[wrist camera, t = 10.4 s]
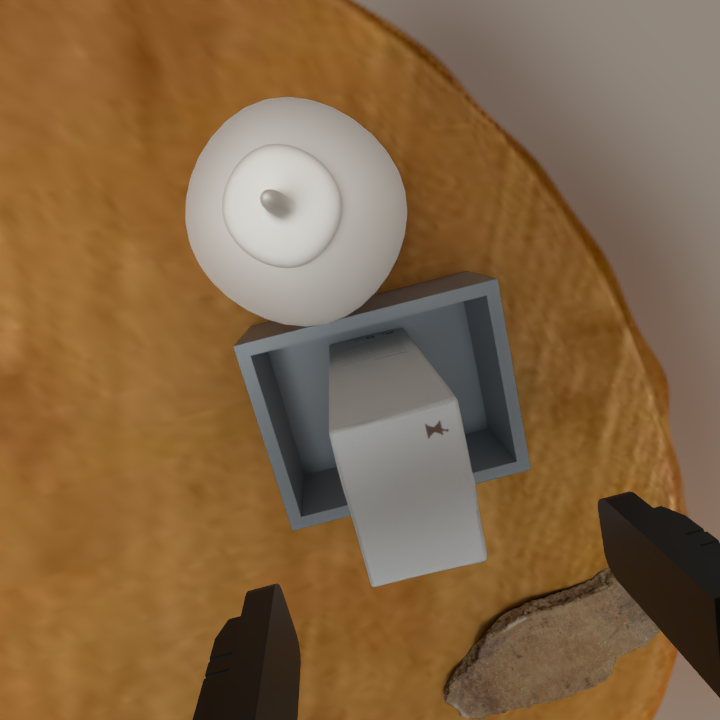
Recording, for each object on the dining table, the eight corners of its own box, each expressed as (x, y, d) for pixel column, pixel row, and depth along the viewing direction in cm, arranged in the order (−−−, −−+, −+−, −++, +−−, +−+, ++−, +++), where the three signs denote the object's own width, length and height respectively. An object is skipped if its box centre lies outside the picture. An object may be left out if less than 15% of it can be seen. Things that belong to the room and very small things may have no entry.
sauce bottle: (278, 110, 24) (152, -220, 7) (412, 199, 26) (593, 116, 8) (204, 250, 26) (-64, 277, 8) (334, 327, 27) (346, 492, 9)
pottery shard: (484, 716, 36) (667, 612, 33) (493, 752, 34) (691, 644, 31) (415, 645, 34) (602, 529, 32) (418, 678, 32) (622, 556, 29)
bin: (496, 430, 29) (530, 469, 24) (298, 481, 29) (292, 530, 24) (466, 271, 27) (497, 278, 22) (250, 326, 27) (233, 346, 22)
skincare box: (325, 344, 26) (324, 427, 15) (403, 325, 26) (462, 393, 15) (352, 446, 28) (369, 594, 16) (425, 428, 28) (494, 563, 16)
